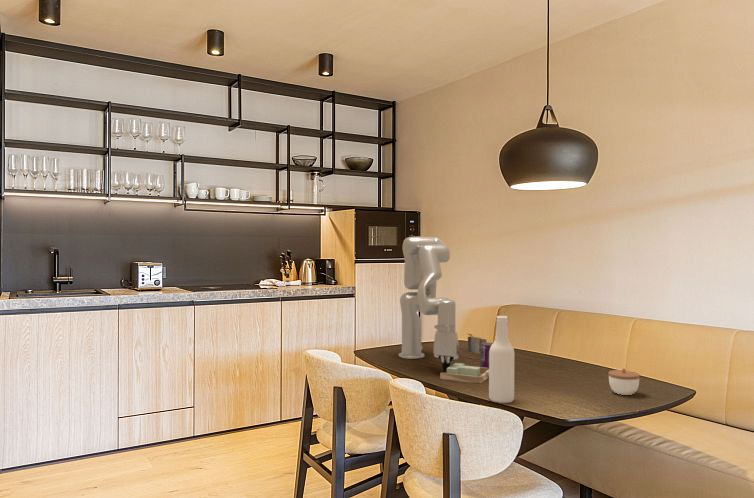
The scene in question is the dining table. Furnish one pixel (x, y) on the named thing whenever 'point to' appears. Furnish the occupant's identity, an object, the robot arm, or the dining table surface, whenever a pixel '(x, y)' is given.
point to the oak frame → (467, 376)
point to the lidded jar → (624, 381)
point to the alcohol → (501, 365)
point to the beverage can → (484, 354)
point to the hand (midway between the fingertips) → (446, 371)
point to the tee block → (463, 370)
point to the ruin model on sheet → (475, 343)
